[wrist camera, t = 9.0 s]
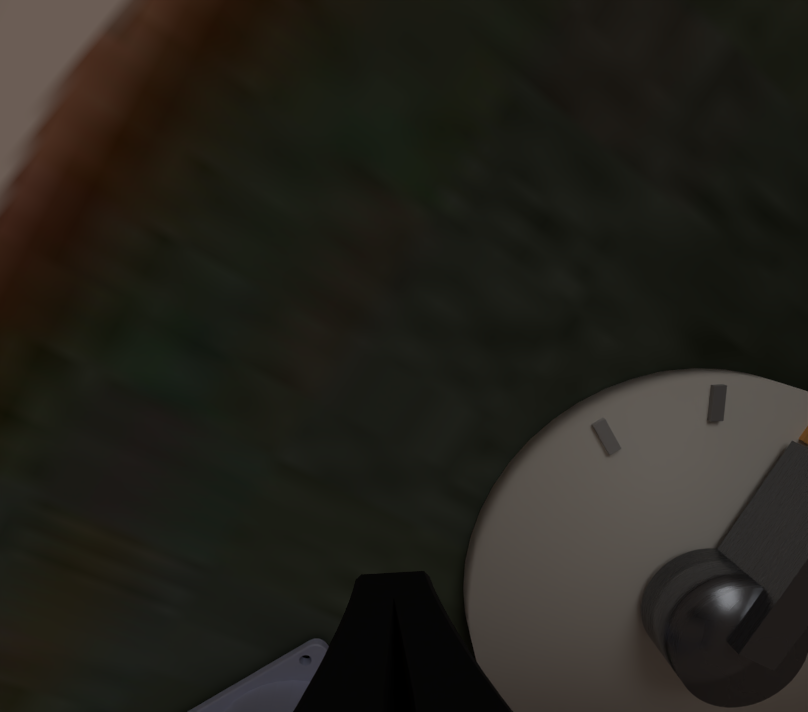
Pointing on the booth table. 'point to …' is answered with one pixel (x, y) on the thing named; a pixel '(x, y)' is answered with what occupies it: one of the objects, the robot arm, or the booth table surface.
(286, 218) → the booth table surface
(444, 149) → the booth table surface
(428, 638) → the robot arm
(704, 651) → the dial pointer
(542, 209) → the booth table surface
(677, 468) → the dial plate
